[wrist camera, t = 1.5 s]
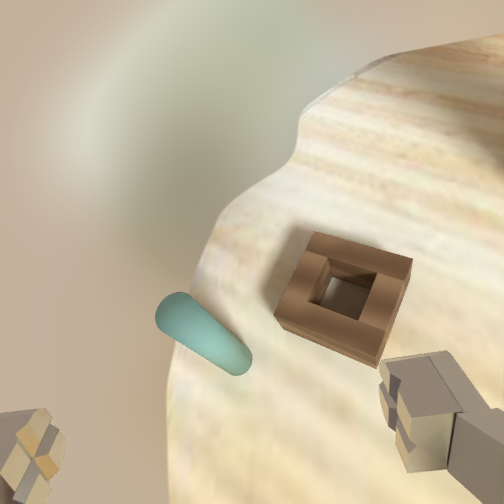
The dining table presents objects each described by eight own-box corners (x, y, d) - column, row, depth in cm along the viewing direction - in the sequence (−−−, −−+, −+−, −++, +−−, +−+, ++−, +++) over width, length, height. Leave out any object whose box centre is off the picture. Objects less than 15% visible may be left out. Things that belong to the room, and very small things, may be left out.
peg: (232, 340, 45) (170, 286, 32) (257, 352, 44) (203, 300, 30) (217, 367, 44) (147, 323, 31) (243, 381, 42) (180, 340, 29)
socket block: (320, 252, 47) (314, 231, 43) (409, 279, 42) (412, 258, 38) (283, 329, 44) (273, 314, 40) (376, 368, 39) (375, 356, 35)
